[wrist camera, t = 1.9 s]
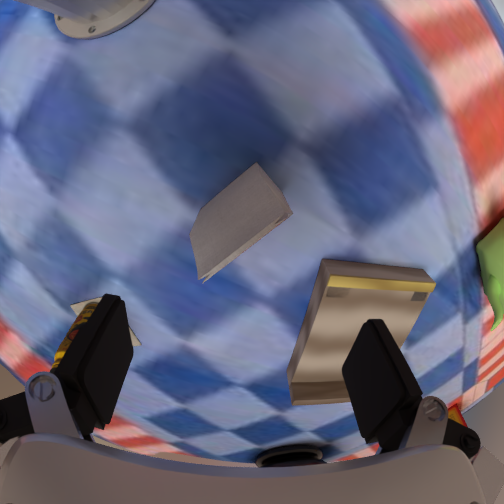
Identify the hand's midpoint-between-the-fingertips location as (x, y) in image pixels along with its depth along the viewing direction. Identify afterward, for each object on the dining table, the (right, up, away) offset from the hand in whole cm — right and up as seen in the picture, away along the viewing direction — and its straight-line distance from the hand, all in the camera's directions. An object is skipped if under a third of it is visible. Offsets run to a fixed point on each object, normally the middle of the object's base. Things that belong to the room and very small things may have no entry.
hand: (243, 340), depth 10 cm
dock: (+13, -6, +23) cm, 27 cm away
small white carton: (-1, +8, +15) cm, 17 cm away
